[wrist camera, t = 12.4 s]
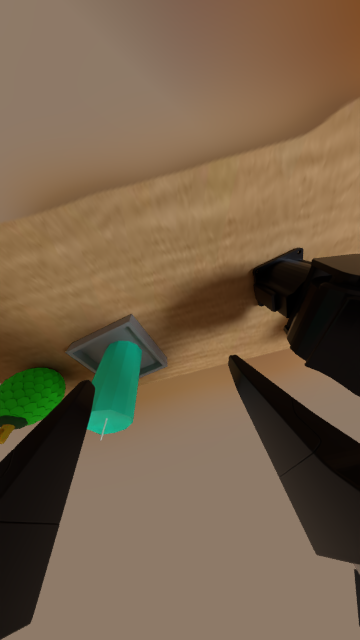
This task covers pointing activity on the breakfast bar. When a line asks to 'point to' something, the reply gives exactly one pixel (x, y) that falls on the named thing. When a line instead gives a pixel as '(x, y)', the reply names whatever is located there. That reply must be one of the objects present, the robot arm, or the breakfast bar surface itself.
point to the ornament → (28, 398)
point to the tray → (122, 330)
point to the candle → (115, 388)
